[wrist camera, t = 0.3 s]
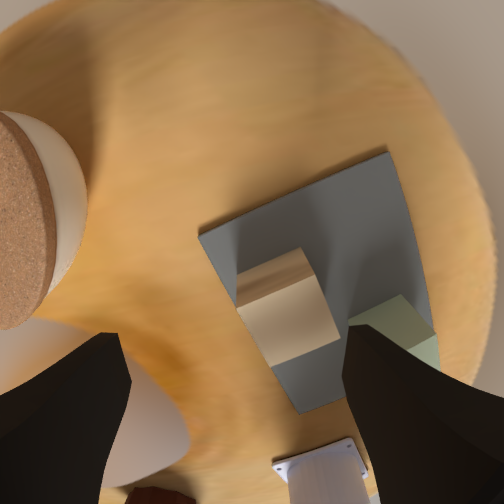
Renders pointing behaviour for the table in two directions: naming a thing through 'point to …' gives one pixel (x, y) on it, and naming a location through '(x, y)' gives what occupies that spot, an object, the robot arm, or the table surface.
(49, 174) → the lidded jar
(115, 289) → the table surface
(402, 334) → the green block
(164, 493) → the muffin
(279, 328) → the beech cube
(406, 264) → the slate mat
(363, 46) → the table surface
